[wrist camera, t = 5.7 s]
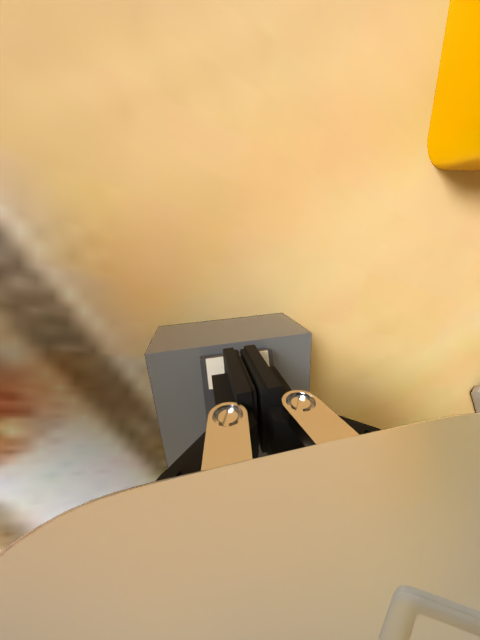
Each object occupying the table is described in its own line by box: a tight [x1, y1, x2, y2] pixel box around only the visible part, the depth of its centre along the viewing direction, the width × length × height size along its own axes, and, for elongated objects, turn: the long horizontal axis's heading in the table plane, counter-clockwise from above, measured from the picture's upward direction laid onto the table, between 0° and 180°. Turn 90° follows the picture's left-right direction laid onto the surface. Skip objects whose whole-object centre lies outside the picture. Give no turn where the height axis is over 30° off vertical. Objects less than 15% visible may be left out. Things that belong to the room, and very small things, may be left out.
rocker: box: [200, 347, 274, 458], centre depth 13 cm, size 7×4×1 cm, turn 4°
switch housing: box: [145, 313, 312, 468], centre depth 19 cm, size 24×10×6 cm, turn 4°
